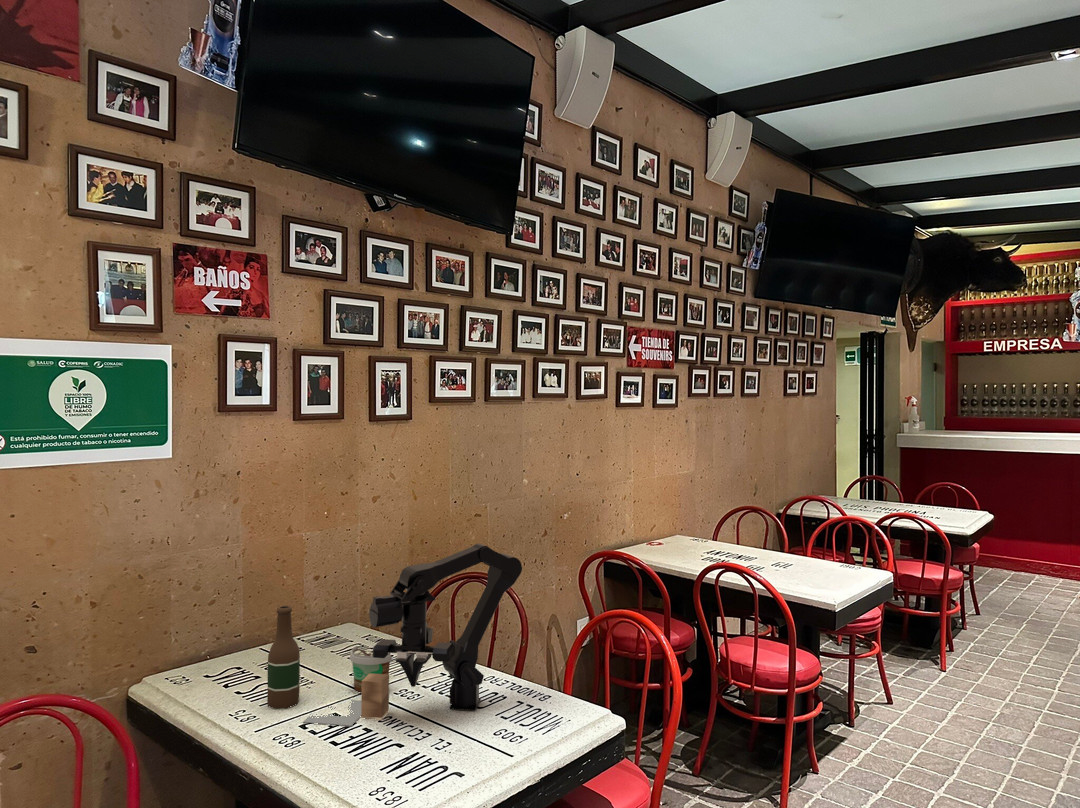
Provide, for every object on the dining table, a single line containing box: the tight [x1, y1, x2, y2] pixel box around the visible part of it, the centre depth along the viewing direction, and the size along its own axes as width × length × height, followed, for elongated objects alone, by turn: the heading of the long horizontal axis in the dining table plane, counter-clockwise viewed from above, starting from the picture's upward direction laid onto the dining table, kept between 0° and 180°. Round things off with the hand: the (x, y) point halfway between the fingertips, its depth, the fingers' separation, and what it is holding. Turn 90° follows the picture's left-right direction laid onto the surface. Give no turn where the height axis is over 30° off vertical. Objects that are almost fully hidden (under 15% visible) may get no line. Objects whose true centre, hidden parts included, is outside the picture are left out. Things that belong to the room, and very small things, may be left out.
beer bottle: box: [266, 605, 301, 709], centre depth 182 cm, size 8×8×24 cm
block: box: [360, 673, 390, 721], centre depth 176 cm, size 5×5×9 cm
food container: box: [349, 645, 393, 693], centre depth 191 cm, size 12×6×10 cm, turn 62°
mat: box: [302, 699, 361, 728], centre depth 177 cm, size 12×14×1 cm
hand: (413, 686), depth 174 cm, fingers closed
